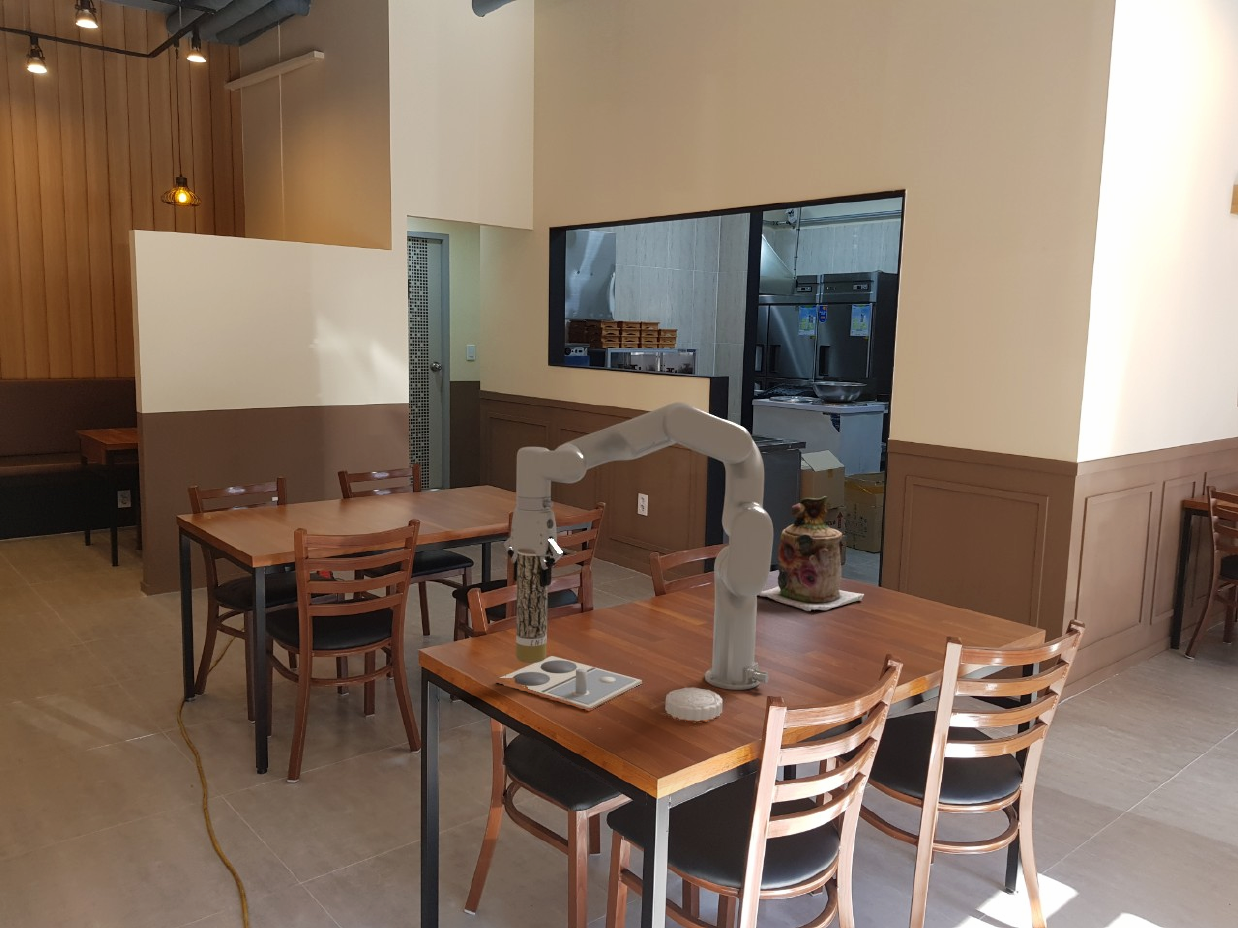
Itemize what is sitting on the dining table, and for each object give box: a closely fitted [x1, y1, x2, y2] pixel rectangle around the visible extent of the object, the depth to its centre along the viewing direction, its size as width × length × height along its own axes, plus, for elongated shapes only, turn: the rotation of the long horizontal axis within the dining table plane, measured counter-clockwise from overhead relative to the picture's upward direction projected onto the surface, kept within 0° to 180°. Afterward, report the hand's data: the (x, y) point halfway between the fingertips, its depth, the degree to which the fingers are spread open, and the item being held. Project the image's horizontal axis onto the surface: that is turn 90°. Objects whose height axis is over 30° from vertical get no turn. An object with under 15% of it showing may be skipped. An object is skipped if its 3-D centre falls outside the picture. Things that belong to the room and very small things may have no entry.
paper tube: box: [515, 550, 549, 664], centre depth 213 cm, size 7×7×25 cm
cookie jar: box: [757, 495, 865, 612], centre depth 289 cm, size 25×25×32 cm
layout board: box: [499, 655, 643, 708], centre depth 216 cm, size 26×20×6 cm
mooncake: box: [664, 686, 723, 721], centre depth 202 cm, size 12×12×4 cm
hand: (532, 582), depth 213 cm, fingers closed on paper tube, 6 cm apart
